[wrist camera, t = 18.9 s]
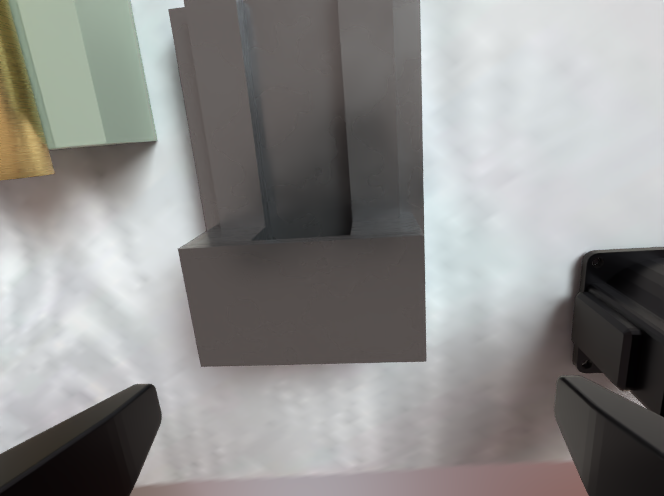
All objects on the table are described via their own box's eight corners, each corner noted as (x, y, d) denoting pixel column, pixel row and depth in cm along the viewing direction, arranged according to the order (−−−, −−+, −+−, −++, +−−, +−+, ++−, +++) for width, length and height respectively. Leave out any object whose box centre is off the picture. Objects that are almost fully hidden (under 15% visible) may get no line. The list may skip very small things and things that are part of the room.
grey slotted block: (413, -5, 17) (436, -72, 11) (420, 298, 21) (439, 361, 15) (189, 21, 18) (108, -27, 12) (235, 305, 22) (189, 367, 16)
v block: (98, -161, 16) (16, -249, 13) (157, 140, 20) (106, 143, 16) (-91, -128, 17) (-220, -201, 14) (-4, 154, 21) (-89, 160, 17)
